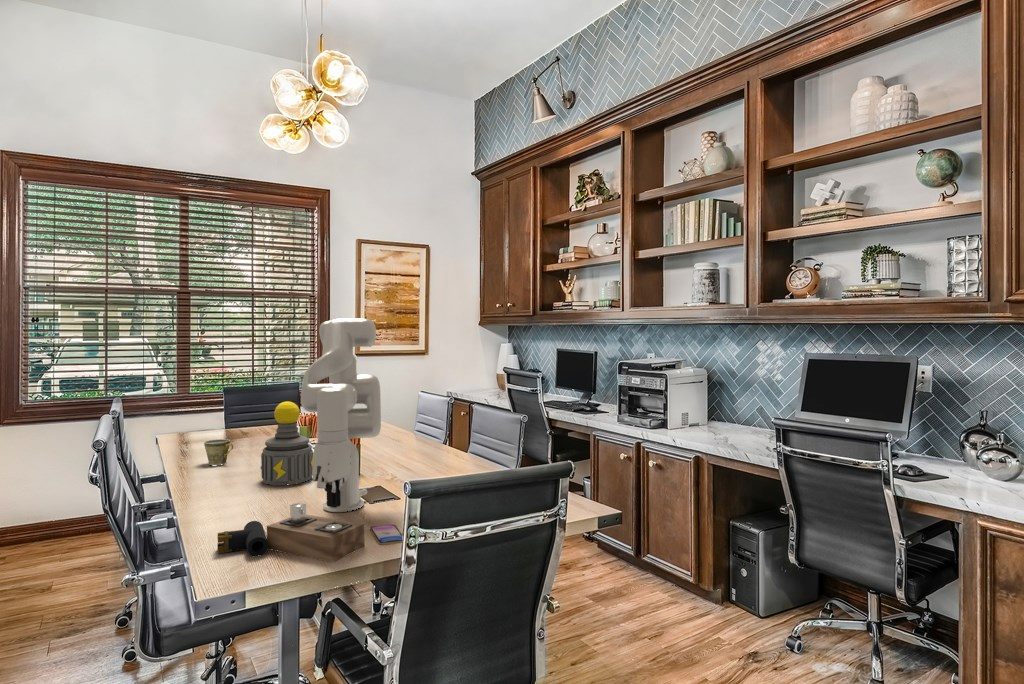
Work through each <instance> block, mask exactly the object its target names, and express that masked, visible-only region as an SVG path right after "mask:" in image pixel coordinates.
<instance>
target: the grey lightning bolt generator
mask: <svg viewBox="0 0 1024 684" xmlns="http://www.w3.org/2000/svg"><path fill="white" fill-rule="evenodd" d="M273 412H274V415H273V416H274V419H275V421H276V422H277V428H276V429H275V432H276V433H275V435H274V436H273V437H270V438H269V439H266V440H265V443H264V445H265V447H264V448H263V449H262V453H261V454H260V458H261V459H260V460H261V461H260V464H261V465H260V471H261V479H262V482H263V484H265V483H266V484H265V485H267V484H270V485H269V486H272V485H287V484H296V483H301V484H303V483H302V482H304V483H306V482H305V481H307V482H309V481H311V480H312V479H313V475H312V472H313V456H314V450H313V447H312V445H311V444H309V442H310V438H309V437H307V436H304V435H300V432H299V426H298V424H297V422H298V420H299V418H300V416H301V415H300V414H301V413H300V412H301V410H300V408H299V406H298V405H297V404H296V403H294V402H292V401H283V402H280V403H279V404H278V405H277V406H276V407H275V410H274V411H273ZM310 479H311V480H310ZM308 480H309V481H308ZM296 485H297V484H296Z"/></svg>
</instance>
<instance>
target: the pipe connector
mask: <svg viewBox="0 0 1024 684" xmlns="http://www.w3.org/2000/svg"><path fill="white" fill-rule="evenodd" d="M242 549H245V550H246V551H247V553H248V555H249V556H250V557H253V556H254V557H259V556H258V555H261V556H264V555H265V554H266V553H267V552H268V550H269V549H268V541H267V534H266V532H265V529H264V526H263V523H261V522H260V521H258V520H250V521H248V522H247V523H246V524H245V525H244V527H243V529H239V530H229V531H228V530H226V531H222V532H217V554H222V553H223V554H224V552H226V553H230V552H236V551H235V550H237V551H243V550H242Z"/></svg>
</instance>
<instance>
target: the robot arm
mask: <svg viewBox="0 0 1024 684" xmlns="http://www.w3.org/2000/svg"><path fill="white" fill-rule="evenodd" d="M376 327H377V326H376V325H375V323H374V321H373V320H371V319H368V318H336V319H335V318H334V319H332V320H326V321H324V322H322V323H320V325H319V330H318V331H319V332H318V333H319V338H320V342H321V344H322V346H323V347H322V353H321V356H320V357H319V358H317V359H315V360H314V361H313V363H312V364H310V366H309V367H308V368H307V369H306V371H305V372H304V374H303V378H302V384H301V385H302V386H301V393H300V405H301V407H302V409H304V411H306V412H309V413H316V414H317V415H316V422H317V425H316V426H317V428H316V430H317V434H316V435H317V442H316V443H315V446H314V448H313V449H314V450H313V452H314V456H313V472H312V475H313V476H312V481H313V482H317V483H316V487H317V489H324V491H325V492H326V502H324V503H323V506H322V507H323V510H324V511H327V512H332V513H345V512H346V513H348V512H352V510H354V511H356V509H357V510H359V509H358V508H360V509H361V507H362V506H363V505H364V506H365V501H364V500H362V499H361V497H362V496H365V495H367V494H368V490H367V488H362V489H360V480H359V479H360V478H359V477H360V476H359V473H360V472H359V471H360V469H359V467H360V466H359V450H358V448H357V447H356V445H355V444H354V442H352V441H351V440H352V439H364V438H366V439H368V438H369V439H370V438H376V437H377V436H379V435H380V432H381V429H382V416H381V415H382V414H381V413H382V412H381V411H382V410H381V409H382V406H381V400H382V399H381V385H380V380H379V378H378V377H377V376H376V375H374V374H367V373H366V374H358V373H357V359H356V357H355V355H354V347H355V348H357V347H359V348H360V347H361V348H362V347H363V348H368V347H369V348H372V347H373V346H374V345H375V342H376V340H377V328H376ZM327 378H328V381H329V383H318V382H320V381H322V380H324V379H327ZM356 405H364V406H366V408H364V407H363V408H362V407H360V408H359V407H357V408H354V407H355V406H356ZM364 506H363V507H364ZM363 507H362V508H363ZM347 511H348V512H347Z"/></svg>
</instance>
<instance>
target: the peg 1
mask: <svg viewBox="0 0 1024 684" xmlns="http://www.w3.org/2000/svg"><path fill="white" fill-rule="evenodd" d="M289 512H290V513H289V514H290V516H289V518H290V523H295V524H297V525H298V524H300V523H303V522H305V521H306V514H307V503H304V502H296V503H292V504H290V506H289Z"/></svg>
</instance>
